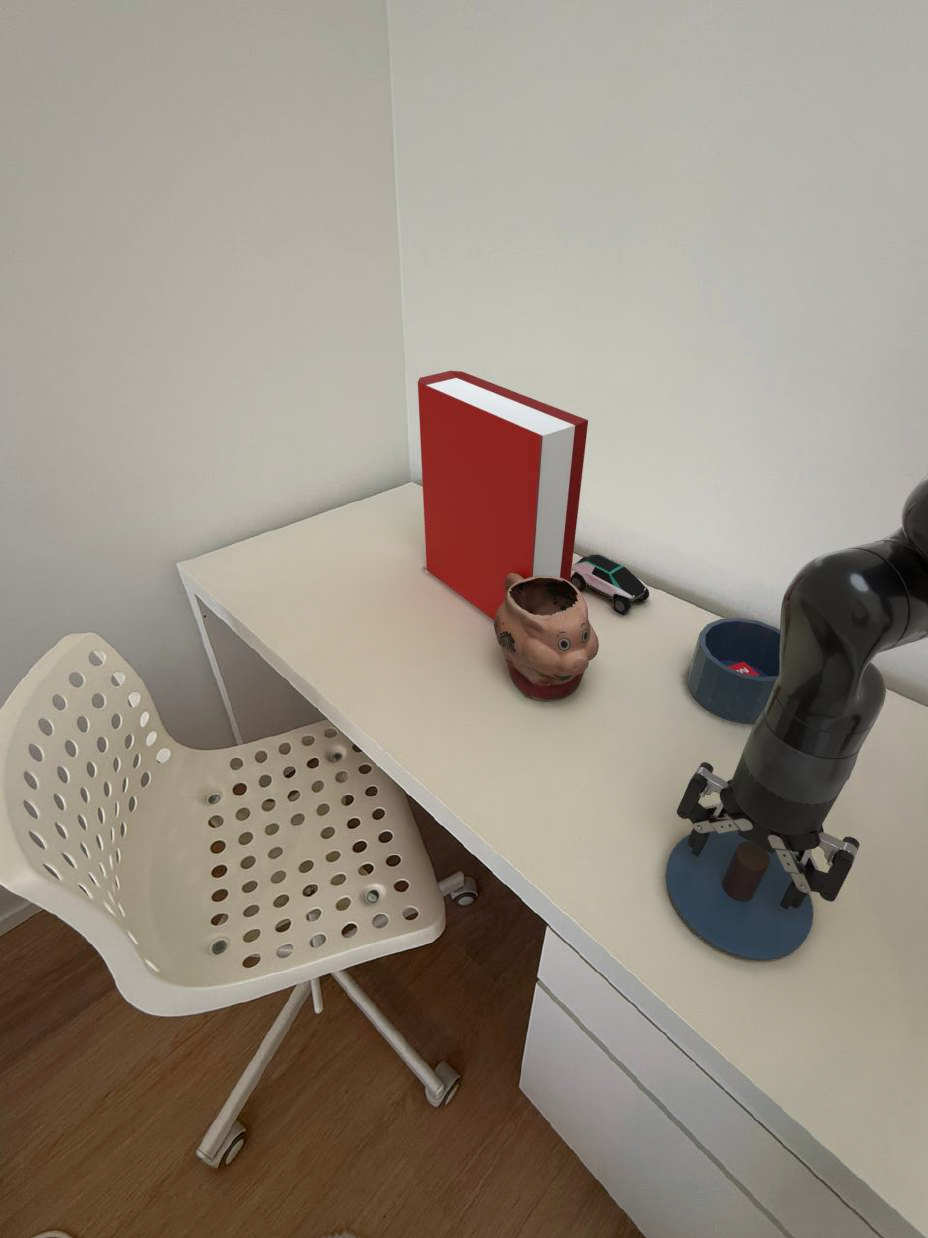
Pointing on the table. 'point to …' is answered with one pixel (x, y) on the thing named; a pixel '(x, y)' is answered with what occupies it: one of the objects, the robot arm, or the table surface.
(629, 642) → the table surface
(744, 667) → the dice
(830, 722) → the robot arm
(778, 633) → the tin
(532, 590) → the decorative planter
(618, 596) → the toy car
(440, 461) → the book
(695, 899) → the lid
